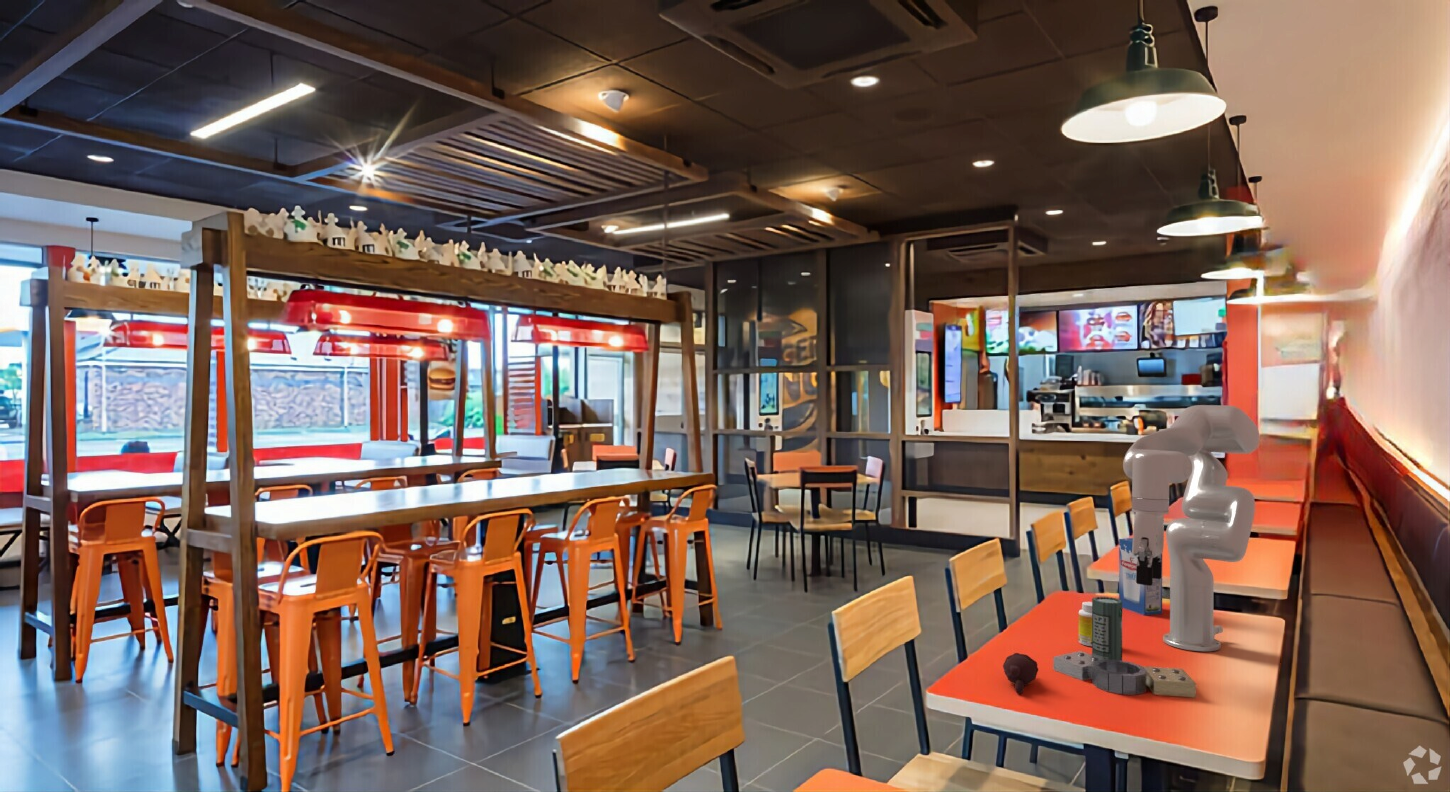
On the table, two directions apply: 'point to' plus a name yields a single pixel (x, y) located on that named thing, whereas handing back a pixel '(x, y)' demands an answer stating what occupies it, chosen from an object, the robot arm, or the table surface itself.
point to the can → (1107, 628)
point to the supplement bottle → (1085, 624)
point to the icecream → (1020, 670)
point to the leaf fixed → (1103, 672)
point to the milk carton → (1134, 594)
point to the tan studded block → (1170, 682)
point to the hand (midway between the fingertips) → (1148, 581)
